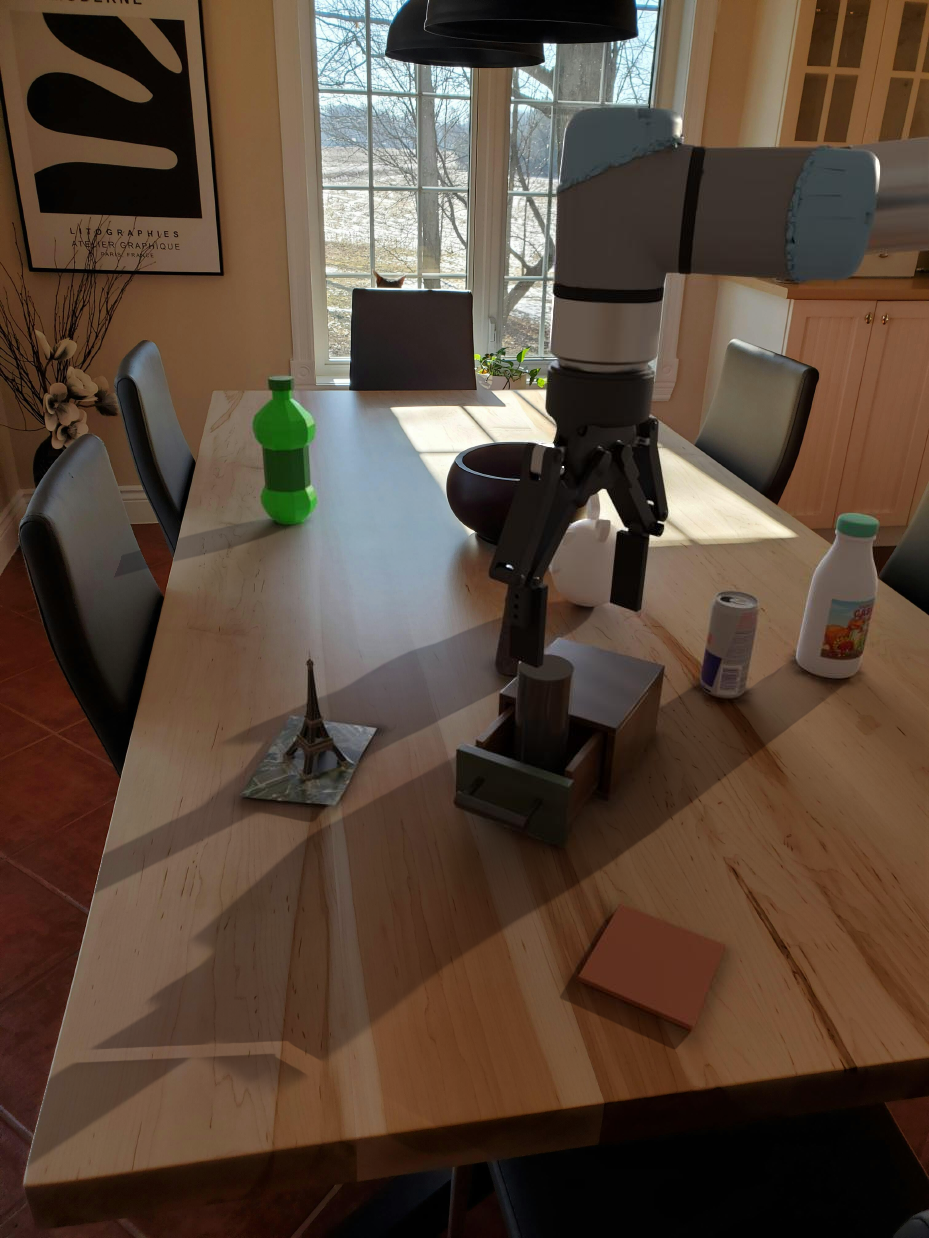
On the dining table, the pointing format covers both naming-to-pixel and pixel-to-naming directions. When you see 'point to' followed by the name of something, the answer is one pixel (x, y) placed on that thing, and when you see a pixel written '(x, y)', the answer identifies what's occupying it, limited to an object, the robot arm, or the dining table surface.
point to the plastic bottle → (285, 454)
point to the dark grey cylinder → (543, 714)
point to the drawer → (528, 781)
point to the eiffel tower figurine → (309, 757)
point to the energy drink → (729, 644)
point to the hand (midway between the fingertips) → (578, 632)
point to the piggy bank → (586, 559)
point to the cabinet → (609, 703)
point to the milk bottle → (840, 601)
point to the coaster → (653, 965)
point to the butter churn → (506, 644)
